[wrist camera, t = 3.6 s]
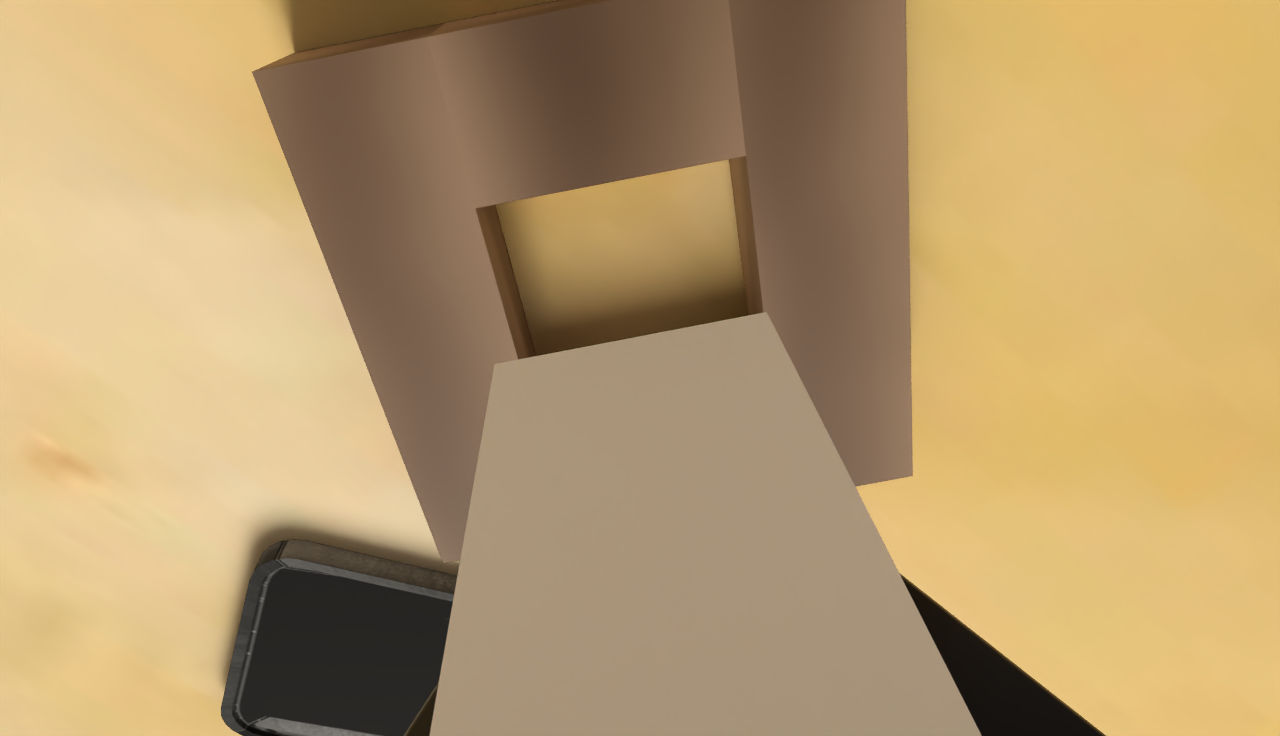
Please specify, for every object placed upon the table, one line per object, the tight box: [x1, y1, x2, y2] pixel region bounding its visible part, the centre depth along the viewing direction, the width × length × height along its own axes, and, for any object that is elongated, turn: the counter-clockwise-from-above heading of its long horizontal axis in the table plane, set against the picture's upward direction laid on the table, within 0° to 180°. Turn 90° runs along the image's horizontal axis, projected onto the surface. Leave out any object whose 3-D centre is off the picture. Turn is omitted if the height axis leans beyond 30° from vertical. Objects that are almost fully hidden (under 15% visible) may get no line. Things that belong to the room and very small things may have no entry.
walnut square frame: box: [252, 0, 913, 563], centre depth 19 cm, size 12×12×2 cm
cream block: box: [429, 312, 982, 736], centre depth 9 cm, size 4×4×9 cm
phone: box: [221, 540, 457, 736], centre depth 26 cm, size 8×1×15 cm
